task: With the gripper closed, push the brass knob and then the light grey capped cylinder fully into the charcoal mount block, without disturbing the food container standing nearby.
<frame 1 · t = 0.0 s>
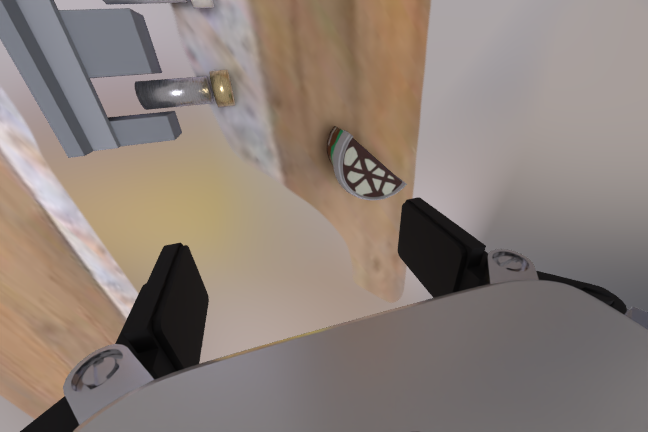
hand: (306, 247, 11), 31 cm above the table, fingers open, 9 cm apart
mount: (105, 48, 30), on the table
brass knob: (187, 91, 32), point 2 cm above the table, slide at 5.5 cm
food container: (342, 158, 44), on the table
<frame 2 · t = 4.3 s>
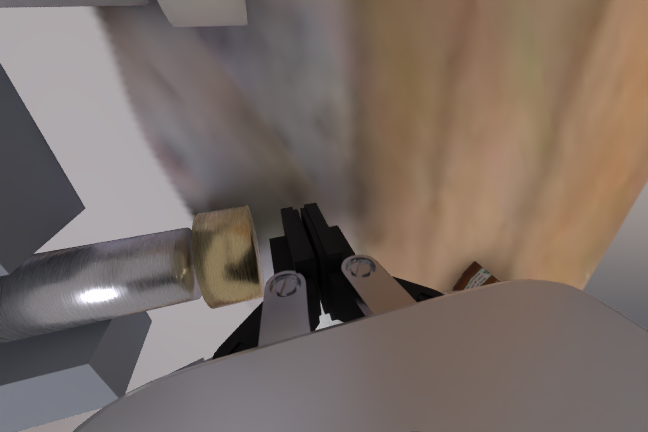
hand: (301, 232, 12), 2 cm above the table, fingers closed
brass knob: (126, 276, 10), point 2 cm above the table, slide at 4.3 cm, touching gripper
food container: (470, 304, 23), on the table
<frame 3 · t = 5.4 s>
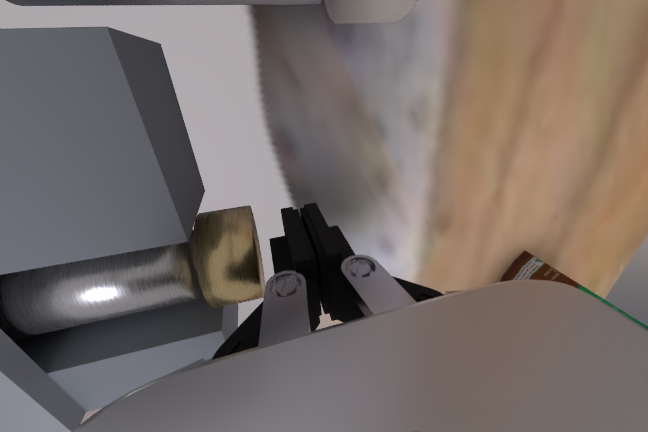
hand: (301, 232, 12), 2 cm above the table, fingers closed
mount: (38, 140, 9), on the table
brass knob: (127, 275, 10), point 2 cm above the table, slide at -0.4 cm, touching gripper
food container: (514, 294, 24), on the table
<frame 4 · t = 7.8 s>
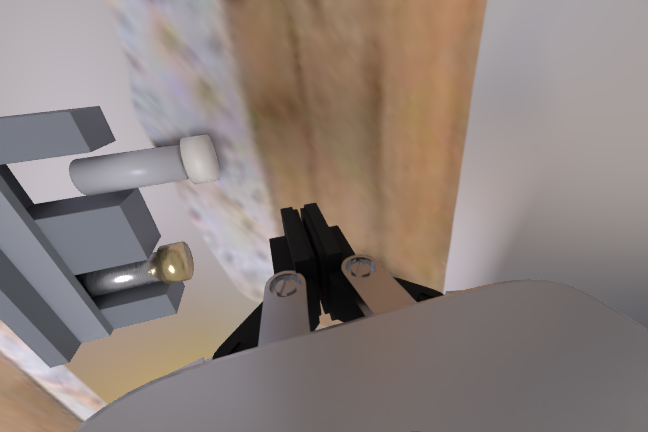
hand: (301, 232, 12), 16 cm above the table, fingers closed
mount: (94, 223, 25), on the table
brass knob: (132, 272, 26), point 2 cm above the table, slide at -0.1 cm
light grey capped cylinder: (151, 167, 22), point 2 cm above the table, slide at 5.5 cm
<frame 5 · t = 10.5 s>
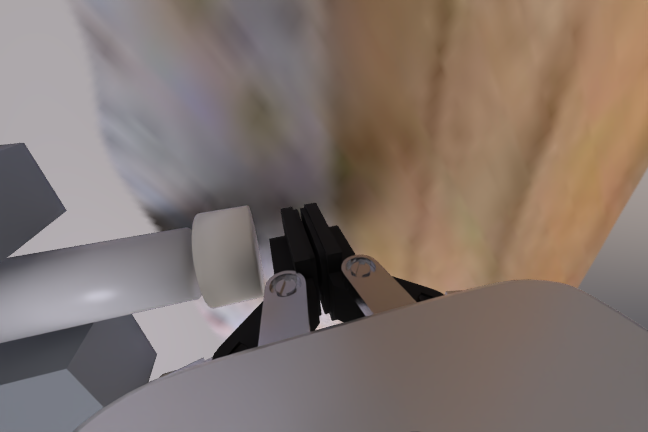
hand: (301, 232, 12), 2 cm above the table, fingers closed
mount: (30, 348, 13), on the table
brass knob: (103, 430, 14), point 2 cm above the table, slide at -0.1 cm
light grey capped cylinder: (126, 275, 10), point 2 cm above the table, slide at 5.0 cm, touching gripper
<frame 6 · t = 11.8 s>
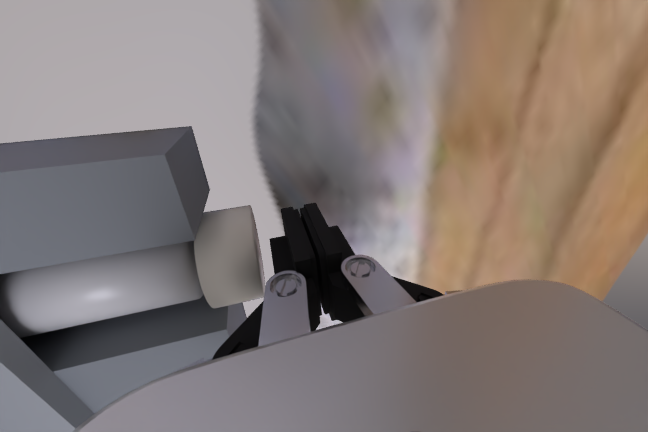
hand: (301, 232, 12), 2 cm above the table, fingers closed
mount: (149, 321, 14), on the table
light grey capped cylinder: (127, 275, 10), point 2 cm above the table, slide at -0.6 cm, touching gripper, mount
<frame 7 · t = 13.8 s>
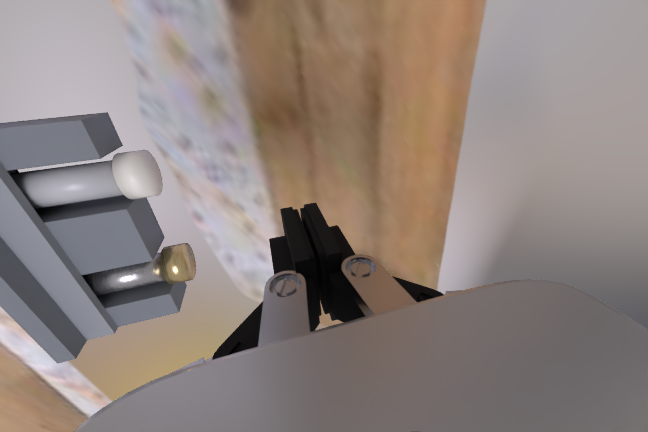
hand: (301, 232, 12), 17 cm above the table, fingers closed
mount: (100, 224, 26), on the table
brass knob: (136, 272, 27), point 2 cm above the table, slide at -0.1 cm
light grey capped cylinder: (86, 182, 22), point 2 cm above the table, slide at -0.1 cm
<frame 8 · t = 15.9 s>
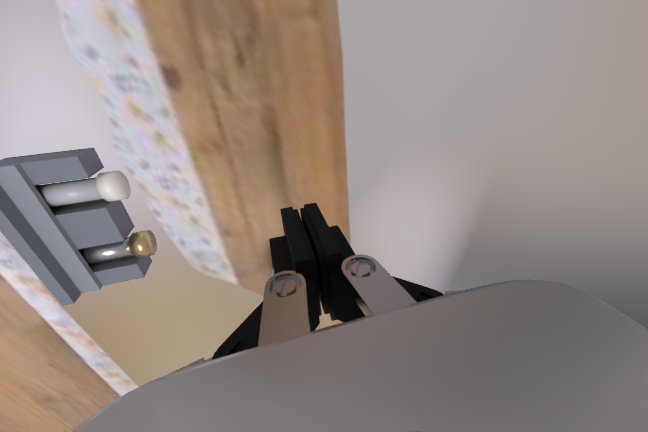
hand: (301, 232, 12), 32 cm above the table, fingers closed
mount: (90, 217, 40), on the table
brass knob: (114, 249, 41), point 2 cm above the table, slide at -0.1 cm
light grey capped cylinder: (80, 191, 36), point 2 cm above the table, slide at -0.1 cm
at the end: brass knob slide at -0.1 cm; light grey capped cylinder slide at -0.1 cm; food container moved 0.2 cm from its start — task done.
